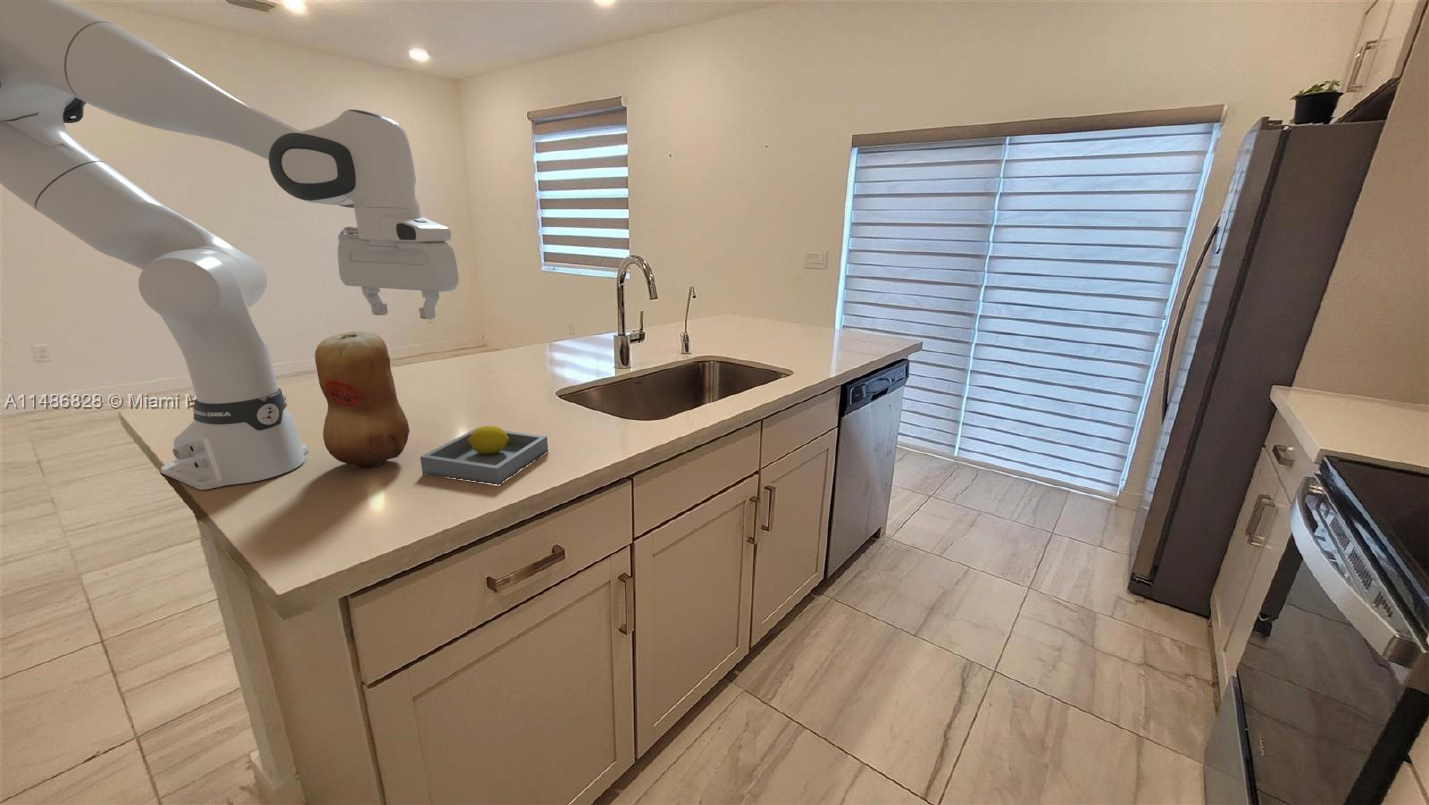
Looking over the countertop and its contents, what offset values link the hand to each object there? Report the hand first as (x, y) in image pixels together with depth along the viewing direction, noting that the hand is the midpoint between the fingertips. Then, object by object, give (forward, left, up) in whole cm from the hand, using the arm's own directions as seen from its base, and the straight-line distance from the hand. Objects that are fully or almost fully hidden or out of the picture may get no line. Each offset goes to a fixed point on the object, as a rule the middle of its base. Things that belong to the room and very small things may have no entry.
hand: (404, 316), depth 90 cm
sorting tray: (+6, +9, -29) cm, 31 cm away
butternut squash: (-14, +2, -29) cm, 33 cm away
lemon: (0, +10, -26) cm, 28 cm away
